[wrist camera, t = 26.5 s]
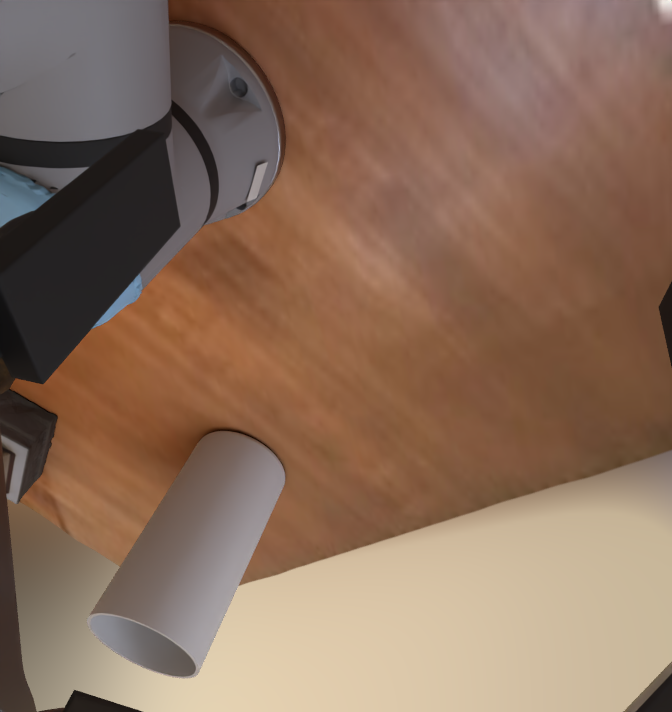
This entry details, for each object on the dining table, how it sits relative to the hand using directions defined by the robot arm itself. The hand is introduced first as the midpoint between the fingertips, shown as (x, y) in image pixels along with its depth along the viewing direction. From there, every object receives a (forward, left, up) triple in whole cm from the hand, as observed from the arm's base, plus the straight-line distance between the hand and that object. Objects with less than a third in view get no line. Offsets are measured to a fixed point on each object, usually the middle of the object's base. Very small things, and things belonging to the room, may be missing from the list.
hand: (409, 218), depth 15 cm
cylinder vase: (-18, -57, -31) cm, 68 cm away
